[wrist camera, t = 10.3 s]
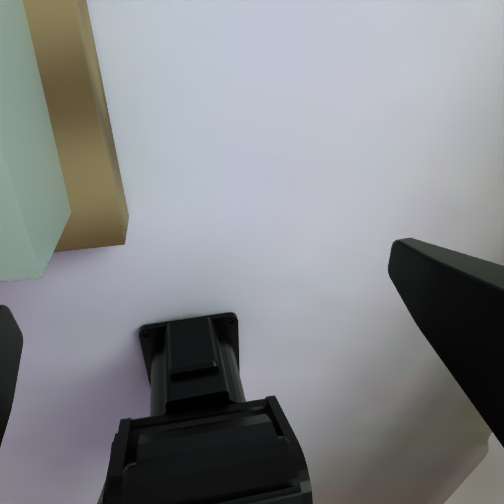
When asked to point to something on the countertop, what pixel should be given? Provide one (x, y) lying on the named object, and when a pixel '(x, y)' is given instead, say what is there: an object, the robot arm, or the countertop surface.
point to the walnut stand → (79, 123)
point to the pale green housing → (26, 157)
